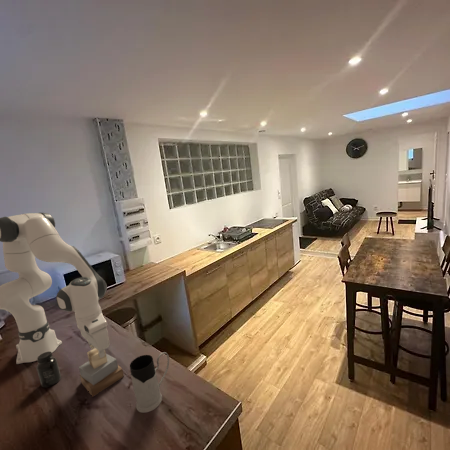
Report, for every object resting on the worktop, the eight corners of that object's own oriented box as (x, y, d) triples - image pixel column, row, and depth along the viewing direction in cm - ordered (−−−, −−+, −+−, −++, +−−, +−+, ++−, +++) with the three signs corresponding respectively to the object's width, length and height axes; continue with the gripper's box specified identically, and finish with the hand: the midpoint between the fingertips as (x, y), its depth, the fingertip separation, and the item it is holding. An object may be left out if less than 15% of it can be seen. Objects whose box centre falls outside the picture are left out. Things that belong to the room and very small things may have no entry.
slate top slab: (80, 376, 101) (78, 367, 100) (105, 360, 108) (103, 352, 108) (93, 385, 95) (91, 375, 94) (118, 368, 102) (116, 359, 102)
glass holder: (131, 403, 89) (123, 364, 86) (167, 378, 98) (160, 342, 96) (143, 417, 82) (134, 375, 80) (180, 389, 92) (173, 351, 90)
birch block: (89, 363, 101) (87, 352, 100) (102, 356, 105) (100, 345, 104) (94, 369, 98) (91, 357, 97) (107, 361, 101) (105, 350, 100)
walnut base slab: (81, 383, 102) (79, 374, 102) (111, 365, 111) (109, 357, 110) (92, 398, 94) (90, 388, 93) (124, 377, 102) (122, 368, 102)
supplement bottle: (64, 374, 108) (58, 348, 107) (54, 386, 102) (47, 359, 100) (48, 376, 108) (41, 350, 107) (37, 389, 102) (29, 362, 100)
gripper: (72, 316, 103) (79, 347, 106) (90, 331, 89) (98, 367, 92) (88, 309, 108) (95, 339, 110) (108, 322, 94) (116, 357, 96)
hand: (97, 352), depth 101 cm, fingers open, 8 cm apart
